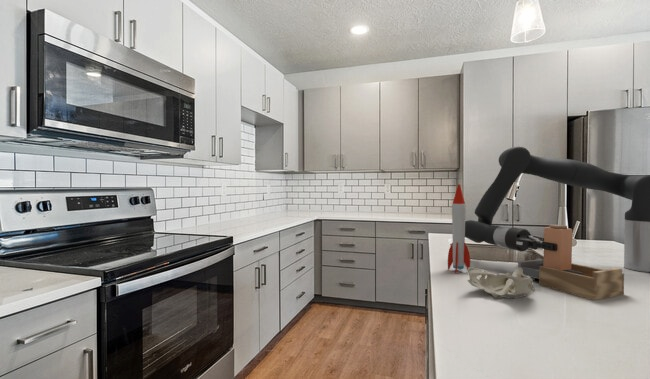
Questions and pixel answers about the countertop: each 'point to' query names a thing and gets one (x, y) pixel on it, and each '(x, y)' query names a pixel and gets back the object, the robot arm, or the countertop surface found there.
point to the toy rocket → (458, 234)
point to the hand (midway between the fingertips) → (562, 247)
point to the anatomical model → (502, 283)
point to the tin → (558, 247)
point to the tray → (536, 268)
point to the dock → (584, 281)
